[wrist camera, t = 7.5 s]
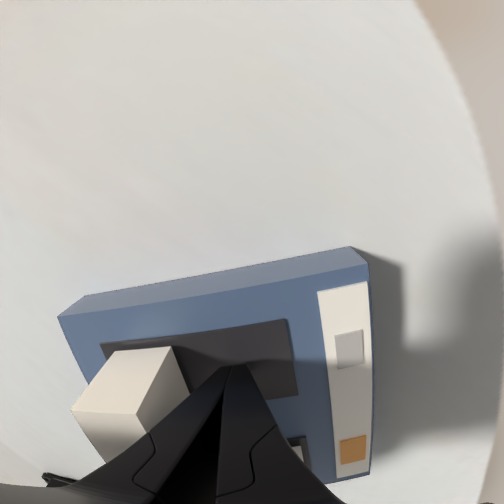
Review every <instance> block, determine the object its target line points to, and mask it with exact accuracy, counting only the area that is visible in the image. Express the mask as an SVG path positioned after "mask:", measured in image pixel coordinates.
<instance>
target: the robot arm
mask: <svg viewBox="0 0 504 504" xmlns="http://www.w3.org/2000/svg"><path fill="white" fill-rule="evenodd" d="M42 478H43V479H44V480H45V481H46V483H47V484H48V485H47V486H46V487H31V486H19V485H10V484H2V483H0V504H346V503H344V502H343V501H341V500H340V499H339V498H338V497H336V496H335V495H334V494H333V493H332V492H331V491H330V490H329V489H328V488H327V487H326V486H325V485H324V484H323V483H322V482H321V481H320V480H319V479H318V477H317V476H316V475H315V474H314V473H313V472H312V471H311V470H310V469H309V468H308V466H307V465H306V464H305V463H304V462H303V461H302V460H301V458H300V457H299V456H298V455H297V453H296V452H295V451H294V449H293V448H292V447H291V445H290V444H289V442H288V441H287V439H286V437H285V436H284V434H283V432H282V430H281V429H280V427H279V425H278V423H277V421H276V420H275V418H274V416H273V414H272V412H271V410H270V408H269V407H268V405H267V403H266V401H265V399H264V397H263V395H262V393H261V391H260V389H259V387H258V385H257V384H256V382H255V380H254V378H253V376H252V374H251V372H250V370H249V368H248V366H247V364H237V365H229V366H221V367H219V368H218V369H217V370H216V371H215V372H214V373H213V374H212V375H211V376H210V377H209V378H207V379H206V380H205V381H204V382H203V383H202V384H201V385H200V386H199V387H198V388H197V389H196V390H194V391H193V392H192V393H191V394H190V395H189V396H188V397H187V398H186V399H185V400H183V401H182V402H181V403H180V404H179V405H178V406H177V407H176V408H175V409H173V410H172V411H171V412H170V413H169V414H168V415H167V416H166V417H164V418H163V419H162V420H161V421H160V422H159V423H158V424H156V425H155V426H154V427H153V428H152V429H151V430H149V432H147V433H146V434H145V435H143V436H142V437H141V438H140V439H139V440H137V441H136V442H135V443H134V444H132V445H131V446H130V447H129V448H127V449H126V450H125V451H123V452H122V453H121V454H119V455H118V456H116V457H115V458H113V459H112V460H110V461H109V462H107V463H106V464H104V465H103V466H101V467H100V468H98V469H96V470H95V471H93V472H92V473H90V474H89V475H87V476H85V477H84V478H82V479H80V480H79V481H77V482H74V481H71V480H67V479H64V478H60V477H57V476H53V475H50V474H47V473H43V475H42ZM482 504H493V503H482Z"/></svg>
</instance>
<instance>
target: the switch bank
mask: <svg viewBox="0 0 504 504" xmlns="http://www.w3.org/2000/svg"><path fill="white" fill-rule="evenodd" d="M57 318H58V320H59V323H60V325H61V328H62V330H63V332H64V335H65V337H66V339H67V342H68V344H69V346H70V348H71V350H72V353H73V355H74V357H75V359H76V361H77V363H78V365H79V367H80V369H81V371H82V373H83V375H84V377H85V379H86V381H87V383H88V385H89V384H90V382H91V381H92V380H93V378H94V377H95V376H96V375H97V373H98V372H99V371H100V369H101V368H102V367H103V366H104V364H105V363H106V362H107V361H108V359H109V358H110V357H111V355H112V354H113V353H114V352H115V351H124V350H136V349H148V348H158V347H168V346H171V347H172V350H173V353H174V355H175V358H176V360H177V363H178V366H179V368H180V371H181V373H182V376H183V378H184V381H185V383H186V386H187V388H188V391H189V393H190V394H191V393H192V392H193V391H194V390H196V389H197V388H198V387H199V386H200V385H201V384H202V383H203V382H204V381H205V380H206V379H207V378H209V377H210V376H211V375H212V374H213V373H214V372H215V371H216V370H217V369H218V368H219V367H221V366H229V365H237V364H247V366H248V368H249V370H250V372H251V374H252V376H253V378H254V380H255V382H256V384H257V385H258V387H259V389H260V391H261V393H262V395H263V397H264V399H265V401H266V403H267V405H268V407H269V408H270V410H271V412H272V414H273V416H274V418H275V420H276V421H277V423H278V425H279V427H280V429H281V430H282V432H283V434H284V436H285V437H286V439H287V441H288V442H289V444H290V445H291V447H296V446H301V450H302V455H303V460H304V463H305V464H306V465H307V466H308V468H309V469H310V470H311V471H312V472H313V473H314V474H315V475H316V476H317V477H318V479H319V480H320V481H321V482H322V483H323V484H330V483H335V482H340V481H344V480H349V479H353V478H358V477H362V476H366V475H370V466H371V454H372V439H373V417H374V343H373V320H372V304H371V291H370V279H369V269H368V263H367V262H366V261H365V260H364V259H363V258H362V257H361V256H360V255H359V254H358V253H357V252H355V251H354V250H353V249H352V248H351V247H350V246H349V247H344V248H339V249H334V250H329V251H324V252H318V253H313V254H308V255H303V256H298V257H293V258H288V259H283V260H278V261H272V262H267V263H262V264H257V265H252V266H246V267H241V268H236V269H230V270H225V271H220V272H214V273H209V274H204V275H198V276H193V277H187V278H182V279H177V280H171V281H166V282H160V283H155V284H149V285H143V286H138V287H132V288H127V289H121V290H115V291H110V292H104V293H98V294H92V295H86V296H84V297H82V298H81V299H80V300H78V301H77V302H76V303H74V304H73V305H72V306H70V307H69V308H68V309H66V310H65V311H64V312H62V313H61V314H60V315H59V316H57Z"/></svg>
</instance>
